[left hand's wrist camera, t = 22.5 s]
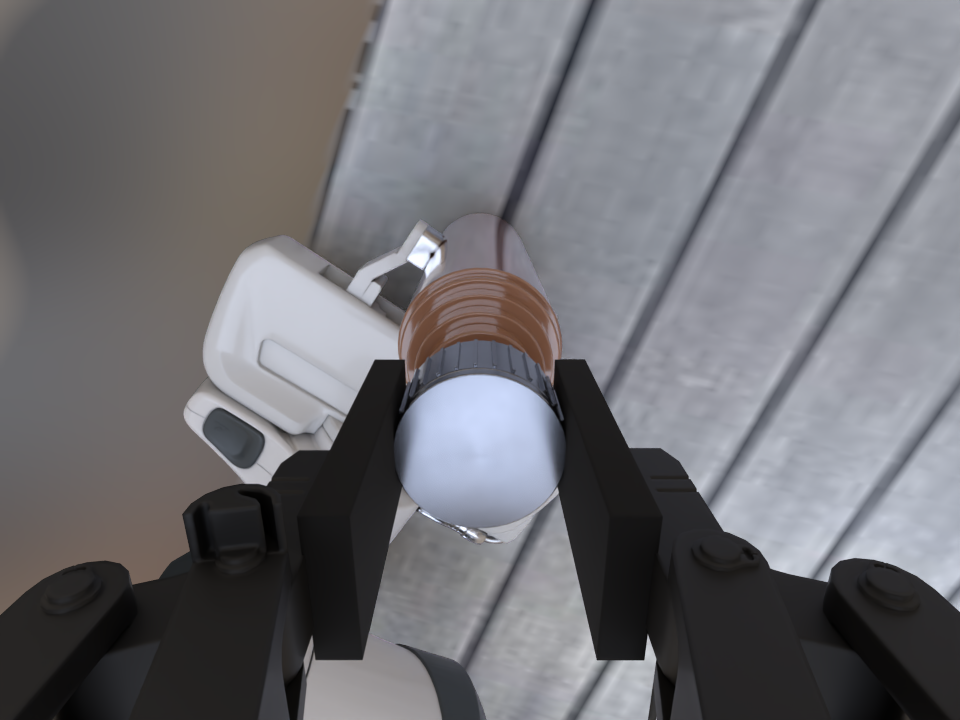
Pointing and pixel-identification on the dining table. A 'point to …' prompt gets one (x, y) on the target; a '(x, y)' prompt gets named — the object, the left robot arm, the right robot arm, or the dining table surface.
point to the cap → (479, 435)
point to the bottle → (480, 297)
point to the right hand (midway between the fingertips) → (489, 268)
